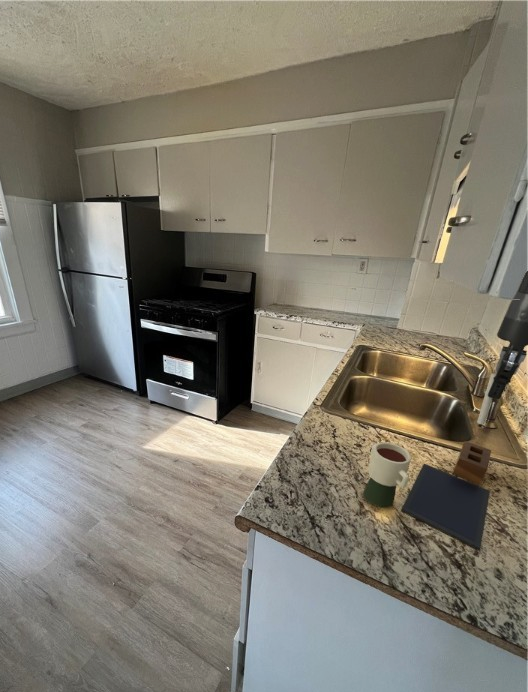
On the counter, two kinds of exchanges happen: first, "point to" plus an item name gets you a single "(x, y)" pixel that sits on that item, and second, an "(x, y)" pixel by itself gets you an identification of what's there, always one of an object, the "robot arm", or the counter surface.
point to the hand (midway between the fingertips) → (493, 396)
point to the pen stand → (472, 463)
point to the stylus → (485, 403)
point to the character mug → (386, 473)
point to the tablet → (449, 505)
